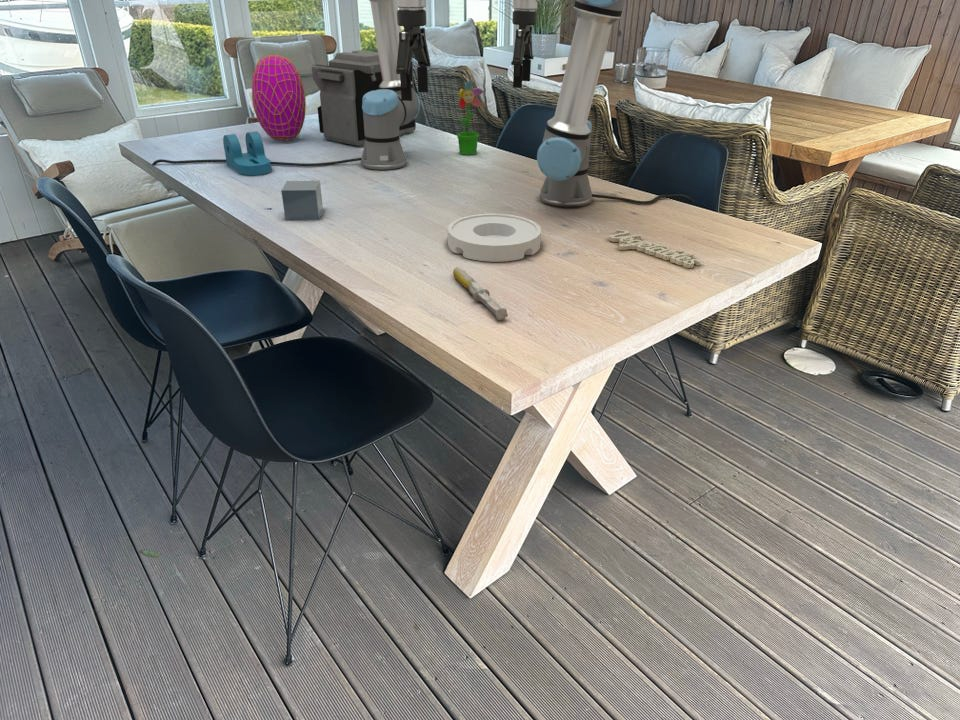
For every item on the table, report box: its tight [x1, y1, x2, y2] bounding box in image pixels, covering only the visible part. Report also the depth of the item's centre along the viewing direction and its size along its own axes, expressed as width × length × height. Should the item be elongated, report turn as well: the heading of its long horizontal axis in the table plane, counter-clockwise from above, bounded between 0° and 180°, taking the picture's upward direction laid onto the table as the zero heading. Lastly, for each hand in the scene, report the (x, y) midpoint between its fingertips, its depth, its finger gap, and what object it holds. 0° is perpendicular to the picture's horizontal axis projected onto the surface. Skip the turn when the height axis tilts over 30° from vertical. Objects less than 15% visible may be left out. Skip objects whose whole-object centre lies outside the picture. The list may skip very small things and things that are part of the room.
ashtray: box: [447, 213, 542, 263], centre depth 170 cm, size 23×23×4 cm
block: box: [280, 180, 324, 221], centre depth 188 cm, size 9×9×8 cm
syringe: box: [452, 266, 509, 321], centre depth 145 cm, size 25×4×3 cm, turn 21°
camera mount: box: [222, 131, 272, 176], centre depth 226 cm, size 18×10×10 cm, turn 35°
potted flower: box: [456, 80, 485, 156], centre depth 244 cm, size 9×8×25 cm
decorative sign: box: [609, 229, 701, 269], centre depth 168 cm, size 26×1×10 cm
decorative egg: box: [251, 54, 307, 142], centre depth 257 cm, size 19×19×30 cm
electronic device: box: [311, 49, 417, 147], centre depth 265 cm, size 37×22×30 cm, turn 144°
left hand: (521, 84), depth 220 cm, fingers open, 13 cm apart
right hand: (415, 96), depth 187 cm, fingers open, 13 cm apart
